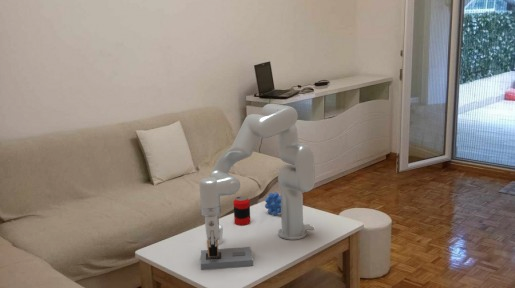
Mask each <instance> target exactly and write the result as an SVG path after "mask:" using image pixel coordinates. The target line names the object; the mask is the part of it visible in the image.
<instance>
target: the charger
mask: <svg viewBox="0 0 515 288" xmlns="http://www.w3.org/2000/svg"><path fill="white" fill-rule="evenodd" d="M210 239H211V238H210ZM214 239H215V238H214ZM210 242H211V241H210ZM214 242H215V241H214ZM206 246H207V247H206V249H207V250H208V257H212V256H209V241H208V240H207V239H206ZM216 246H217V254H218V249H219V244H218V240H216ZM217 256H218V255H217Z"/></svg>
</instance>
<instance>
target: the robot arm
mask: <svg viewBox="0 0 515 288" xmlns="http://www.w3.org/2000/svg"><path fill="white" fill-rule="evenodd" d="M261 112H262V114H257V113H251V114H249V115H246V117H245V119H244V121H242V125H241V127H240V128H239V130H238V133H237V135H236V137H235V139H234V141H233V143H232V145H231V146H230V147H229V148H228V149H227V150H226V151H225V152H224V153H223V154H222V155H220V157H219V158H218V159H217V161H216V162H215V164H214V165H213V168H212V170H211V172H210V175H209V177H204V178H201V179H200V181H199V183H198V184H199V198H200V212H201V213H200V214H201V216H203V217H204V224H205V225H204V226H205V235H206V241H207V240H208V241H209V256H217V255H218V254H217V246H216V240H219V239H220V233H219V224H220V217H219V215H220V214H221V211H222V210H221V196H231V195H234V194H236V193H238V192H239V191H240V188H241V182H240V180H239V179H238V178H237V177H236V176H234V175H231V174H229V172H230V170H231V169H232V168H233V166H234V165H235V164H236V163H238V162H240V161H242V160H245V159H248V158H250V157H251V156H252V155H253V153H254V150H255V148H256V146H257V143H258V141H259V140H260V138H265V139H269V138H272V137H274V136H276V135H277V141H278V143H277V145H278V155H279V158H280V160H281V161H282V162H284V163H286V164H285V165H283V166H281V167H280V168H279V171H278V173H277V180H278V181H277V182H278V185H279V190H280V196H281V213H280V215H281V220H280V221H281V222H280V223H281V228H280V229H279V230H278V233H277V234H278V236H279V237H280V238H282V239H284V240H291V241H293V240H295V241H296V240H300V239H304V238H305V237H306V236H307V235H308V234H307V233H308V231H314V230H315V226H314V225H310V224H305V223H304V201H303V200H304V197H303V192H304V193H307V192H309V191H311V190H313V188H314V186H315V184H316V169H315V168H316V167H315V165H316V164H315V156H314V152H313V150H312V148H311V147H310V146H309V145H306V144H305V143H301V142H300V140H299V135H298V129H297V125H296V123H297V121H298V116H299V115H298V111H297V110H296V109H295V108H294V107H292V106H290V105H286V104H285V105H284V104H279V103H267V104H265V105H264V106H263V107H262V110H261ZM210 238H211V239H210ZM214 238H215V239H214ZM210 241H211V242H210ZM214 241H215V242H214Z"/></svg>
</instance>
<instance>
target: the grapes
mask: <svg viewBox="0 0 515 288" xmlns="http://www.w3.org/2000/svg"><path fill="white" fill-rule="evenodd" d="M264 201H265V204H264V207H265V208H266V209H267V212H268V214H270V215H271V214H272V215H273V216H278V214H281V195H280V193H278V192H270V193H268V195H267V197H265V199H264Z"/></svg>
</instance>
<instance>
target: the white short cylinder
mask: <svg viewBox="0 0 515 288" xmlns="http://www.w3.org/2000/svg"><path fill="white" fill-rule="evenodd" d="M223 230H224V226H223V225H222V224H220V223H219V233H220V239H219V240H218V245H221V244H222V243H223V236H224V235H223Z"/></svg>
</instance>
